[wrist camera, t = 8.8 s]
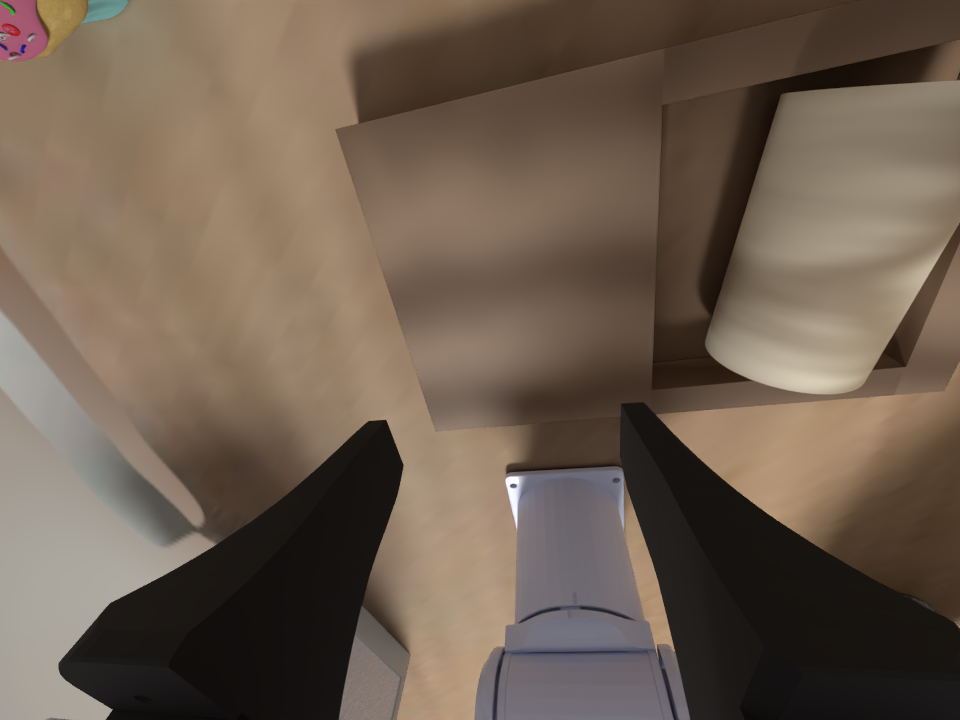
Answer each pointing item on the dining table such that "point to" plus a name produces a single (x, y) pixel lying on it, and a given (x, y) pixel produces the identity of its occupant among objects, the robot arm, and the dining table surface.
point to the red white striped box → (373, 673)
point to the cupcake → (46, 24)
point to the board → (597, 229)
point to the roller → (839, 233)
